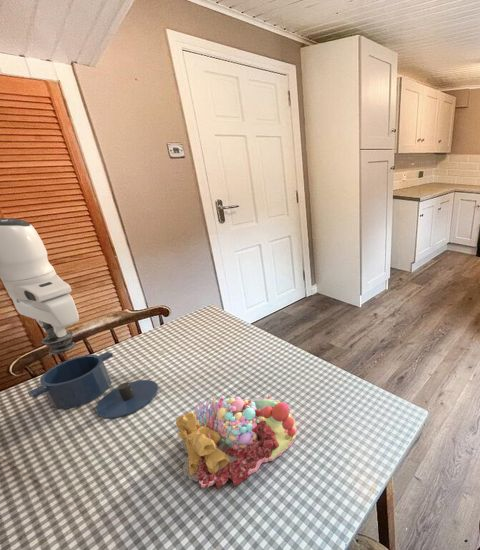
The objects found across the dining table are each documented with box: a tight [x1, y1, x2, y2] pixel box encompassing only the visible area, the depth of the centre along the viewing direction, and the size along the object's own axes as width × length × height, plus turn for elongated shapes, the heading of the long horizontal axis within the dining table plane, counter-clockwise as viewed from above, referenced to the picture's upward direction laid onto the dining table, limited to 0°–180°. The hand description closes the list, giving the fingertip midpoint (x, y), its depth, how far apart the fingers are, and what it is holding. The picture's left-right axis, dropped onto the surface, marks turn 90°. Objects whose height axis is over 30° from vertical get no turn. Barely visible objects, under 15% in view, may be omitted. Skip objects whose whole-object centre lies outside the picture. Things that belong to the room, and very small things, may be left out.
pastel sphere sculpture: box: [175, 394, 298, 492], centre depth 71 cm, size 25×24×9 cm
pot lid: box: [95, 379, 159, 420], centre depth 82 cm, size 14×14×5 cm
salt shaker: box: [41, 322, 77, 355], centre depth 78 cm, size 6×6×12 cm
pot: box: [27, 351, 114, 410], centre depth 84 cm, size 13×18×8 cm
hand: (56, 333), depth 78 cm, fingers closed on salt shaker, 3 cm apart
